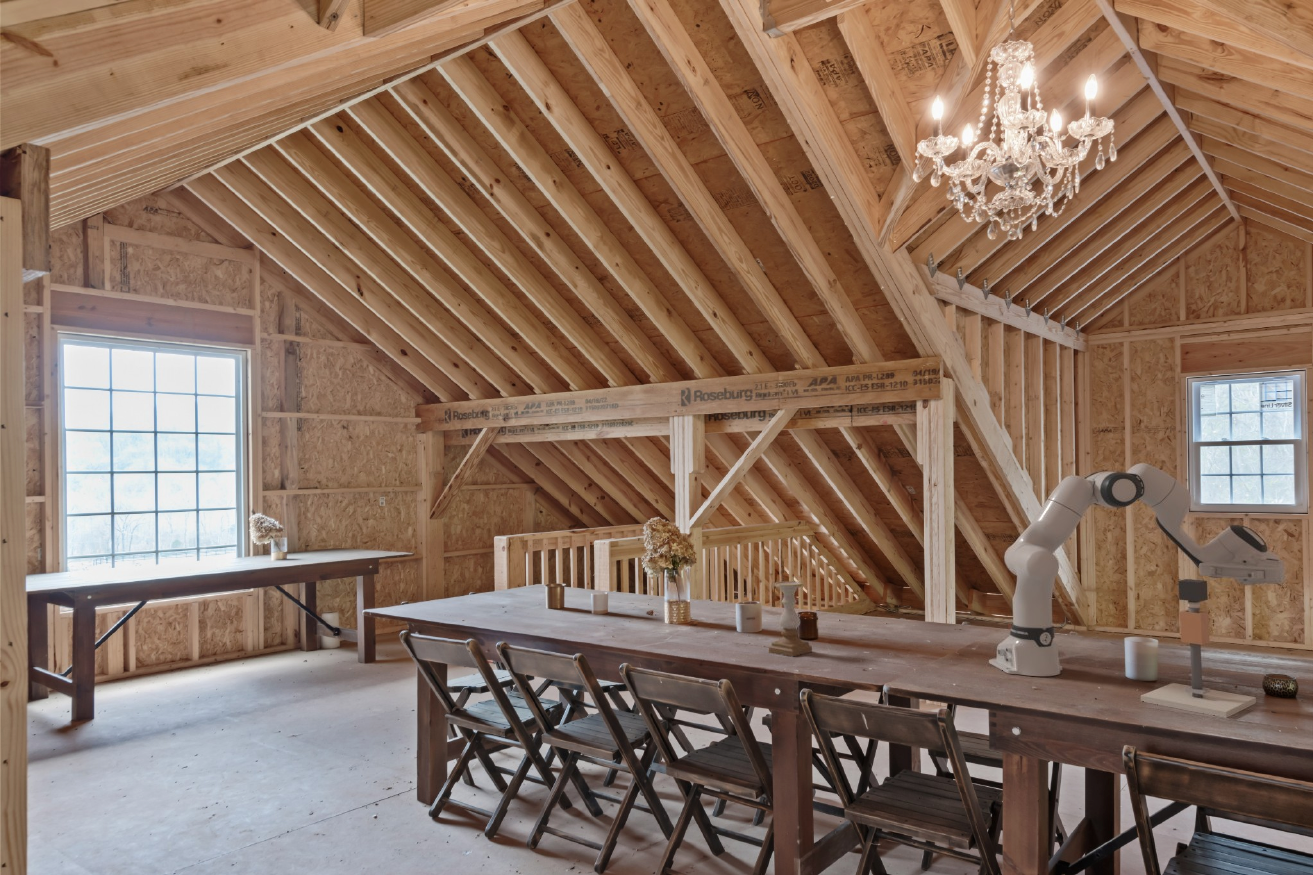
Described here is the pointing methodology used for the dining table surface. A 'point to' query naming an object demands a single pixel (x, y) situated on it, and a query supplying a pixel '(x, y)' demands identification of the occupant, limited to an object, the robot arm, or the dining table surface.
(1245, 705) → the post
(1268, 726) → the dining table surface
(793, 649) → the candle holder
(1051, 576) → the robot arm
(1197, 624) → the sleeve
